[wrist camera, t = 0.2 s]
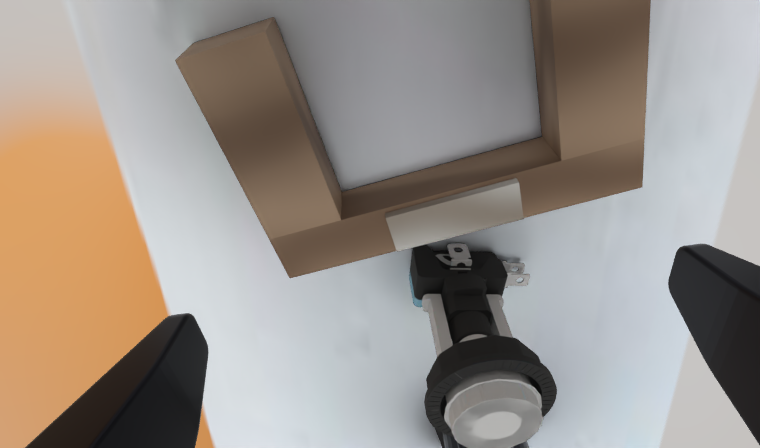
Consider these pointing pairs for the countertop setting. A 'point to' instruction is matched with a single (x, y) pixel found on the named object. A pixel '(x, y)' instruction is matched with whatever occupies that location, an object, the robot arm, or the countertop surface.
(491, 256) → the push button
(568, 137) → the notched board
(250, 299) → the countertop surface
